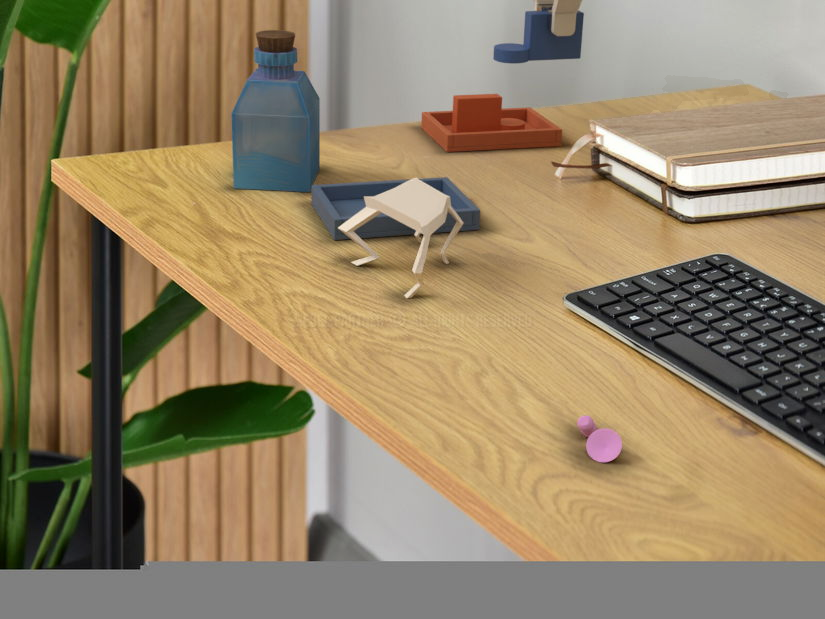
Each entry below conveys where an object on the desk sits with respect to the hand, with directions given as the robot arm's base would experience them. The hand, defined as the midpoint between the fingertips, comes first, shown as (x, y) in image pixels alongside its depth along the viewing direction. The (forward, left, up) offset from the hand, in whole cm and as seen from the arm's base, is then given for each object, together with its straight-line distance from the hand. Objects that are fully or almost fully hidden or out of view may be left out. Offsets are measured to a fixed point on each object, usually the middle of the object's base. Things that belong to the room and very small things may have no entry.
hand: (553, 30), depth 95 cm
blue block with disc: (+1, 0, -2) cm, 2 cm away
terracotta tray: (-1, -16, -13) cm, 21 cm away
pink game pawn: (+13, +40, -13) cm, 44 cm away
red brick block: (-1, -16, -13) cm, 20 cm away
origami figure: (+16, +15, -13) cm, 25 cm away
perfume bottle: (+21, -7, -13) cm, 26 cm away
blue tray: (+14, +4, -13) cm, 19 cm away
